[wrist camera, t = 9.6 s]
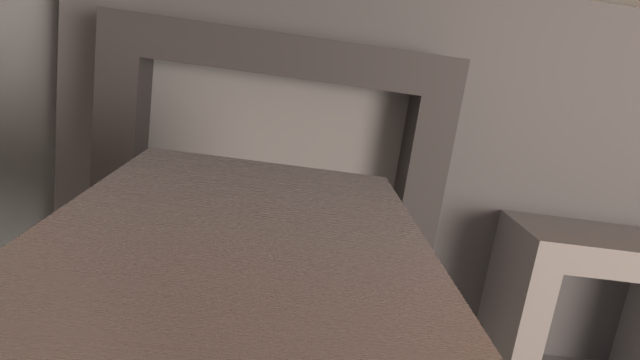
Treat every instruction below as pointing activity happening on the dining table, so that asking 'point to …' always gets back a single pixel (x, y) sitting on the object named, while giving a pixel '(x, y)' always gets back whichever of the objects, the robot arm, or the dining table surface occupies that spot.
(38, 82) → the dining table surface
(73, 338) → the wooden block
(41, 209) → the dining table surface
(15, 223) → the dining table surface
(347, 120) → the stand
